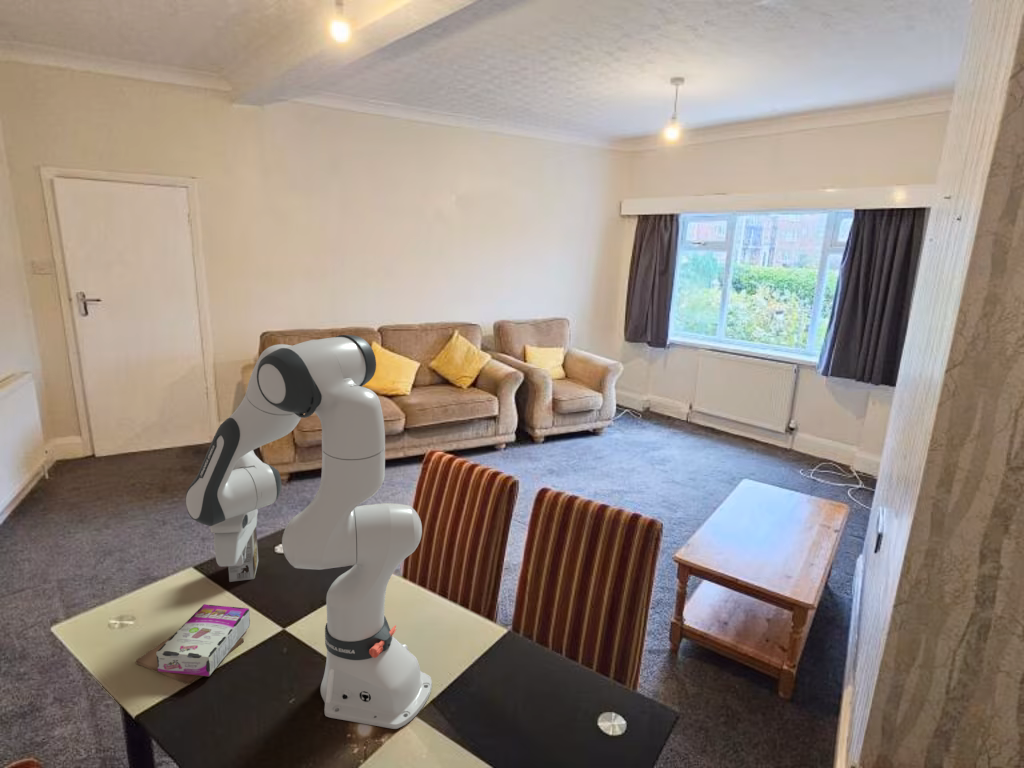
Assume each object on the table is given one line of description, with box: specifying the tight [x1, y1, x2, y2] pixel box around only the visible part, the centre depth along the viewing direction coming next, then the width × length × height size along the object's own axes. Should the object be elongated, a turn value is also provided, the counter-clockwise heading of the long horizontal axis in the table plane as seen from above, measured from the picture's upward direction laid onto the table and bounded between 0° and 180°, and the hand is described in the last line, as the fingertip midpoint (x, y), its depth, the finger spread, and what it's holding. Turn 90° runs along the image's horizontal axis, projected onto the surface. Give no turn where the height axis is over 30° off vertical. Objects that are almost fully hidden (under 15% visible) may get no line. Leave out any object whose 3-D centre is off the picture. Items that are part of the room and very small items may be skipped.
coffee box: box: [227, 526, 259, 583], centre depth 151 cm, size 9×6×16 cm
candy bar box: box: [156, 603, 251, 677], centre depth 122 cm, size 11×5×16 cm
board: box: [135, 634, 244, 686], centre depth 122 cm, size 15×14×1 cm
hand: (240, 562), depth 132 cm, fingers closed
